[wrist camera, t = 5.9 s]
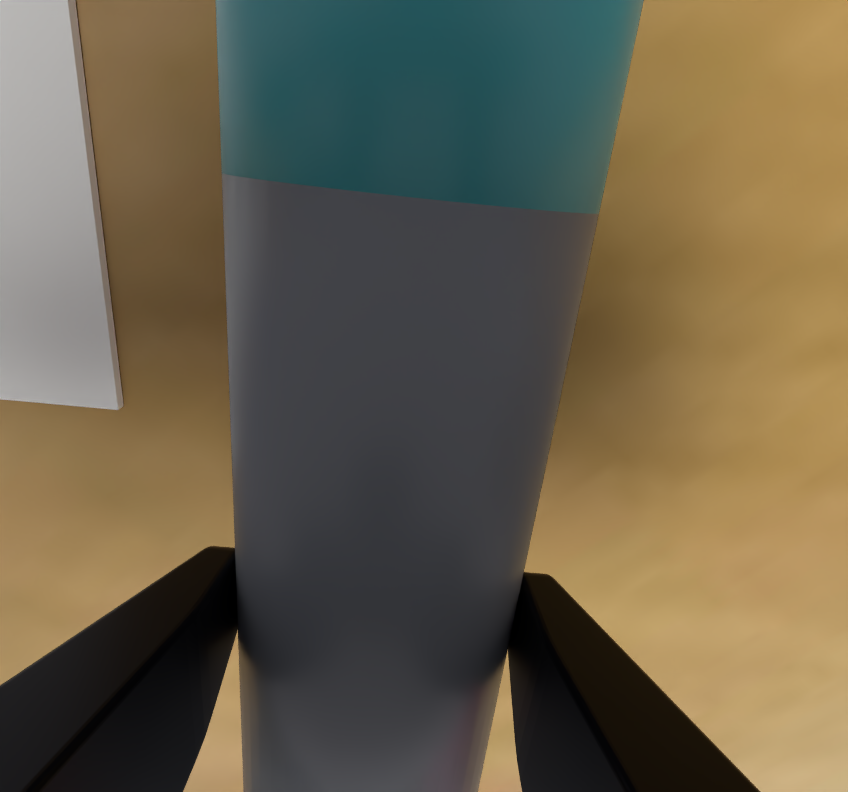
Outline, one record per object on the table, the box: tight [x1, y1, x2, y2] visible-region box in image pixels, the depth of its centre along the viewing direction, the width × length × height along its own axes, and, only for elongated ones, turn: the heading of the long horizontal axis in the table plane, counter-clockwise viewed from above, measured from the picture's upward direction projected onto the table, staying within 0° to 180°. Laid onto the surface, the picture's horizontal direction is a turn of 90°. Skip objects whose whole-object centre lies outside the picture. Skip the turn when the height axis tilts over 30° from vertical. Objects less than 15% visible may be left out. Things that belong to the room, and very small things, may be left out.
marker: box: [216, 0, 644, 792], centre depth 7 cm, size 15×4×4 cm, turn 174°
